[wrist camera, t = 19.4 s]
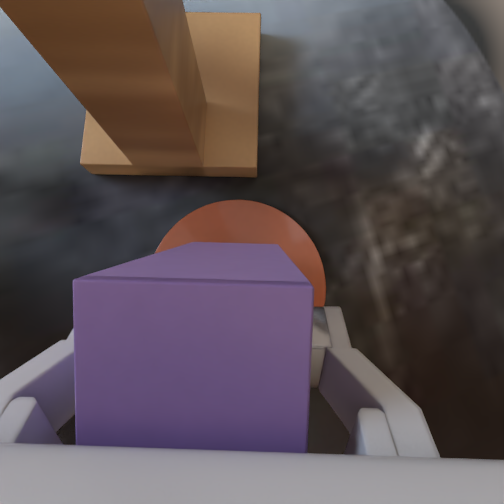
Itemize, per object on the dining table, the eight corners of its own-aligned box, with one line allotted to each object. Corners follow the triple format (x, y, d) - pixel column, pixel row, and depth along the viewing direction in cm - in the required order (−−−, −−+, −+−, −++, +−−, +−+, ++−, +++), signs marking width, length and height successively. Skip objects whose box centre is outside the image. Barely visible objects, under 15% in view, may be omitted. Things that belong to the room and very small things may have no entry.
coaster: (298, 401, 19) (299, 403, 18) (123, 346, 19) (121, 347, 19) (343, 227, 20) (345, 226, 20) (181, 182, 21) (179, 179, 20)
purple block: (305, 514, 7) (315, 286, 6) (75, 505, 7) (71, 278, 7) (275, 328, 19) (278, 244, 18) (191, 325, 19) (192, 241, 18)
